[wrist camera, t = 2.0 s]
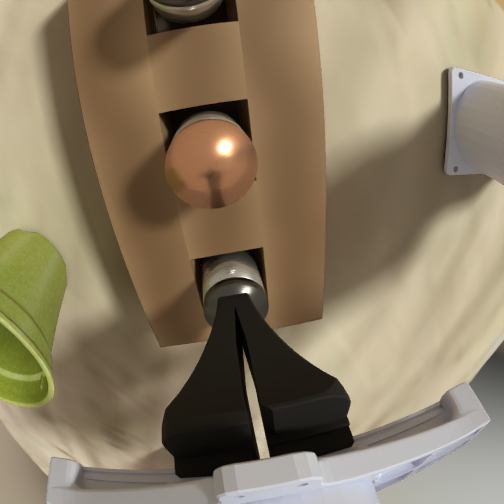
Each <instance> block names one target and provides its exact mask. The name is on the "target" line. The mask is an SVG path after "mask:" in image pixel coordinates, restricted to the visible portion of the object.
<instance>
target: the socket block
mask: <svg viewBox="0 0 504 504" xmlns="http://www.w3.org/2000/svg"><path fill="white" fill-rule="evenodd" d="M225 2H226V11H227V19H228V22H224V23H216V24H208V25H201V26H194V27H188V28H182V29H177V30H171V31H166V32H162V33H158V30H157V22H156V13H155V8H154V7H153V5H152V4H151V2H150V1H149V0H68V14H69V26H70V37H71V46H72V54H73V61H74V68H75V75H76V81H77V87H78V93H79V99H80V104H81V109H82V114H83V119H84V124H85V128H86V133H87V137H88V141H89V146H90V150H91V154H92V158H93V162H94V166H95V169H96V173H97V177H98V180H99V184H100V187H101V191H102V194H103V198H104V201H105V204H106V208H107V211H108V214H109V217H110V220H111V223H112V226H113V229H114V232H115V235H116V238H117V241H118V244H119V247H120V250H121V252H122V255H123V258H124V261H125V263H126V266H127V269H128V271H129V274H130V277H131V279H132V282H133V284H134V287H135V289H136V292H137V294H138V297H139V299H140V302H141V304H142V306H143V309H144V311H145V314H146V316H147V318H148V320H149V323H150V325H151V327H152V329H153V332H154V334H155V336H156V338H157V341H158V343H159V345H160V347H166V346H174V345H181V344H188V343H195V342H202V341H208V338H209V336H210V333H211V330H212V327H211V326H210V325H209V324H208V323H207V321H206V319H205V317H204V307H203V287H202V270H201V266H200V261H199V258H203V257H209V256H214V255H220V254H226V253H232V252H238V251H243V250H249V249H255V254H256V264H257V267H258V270H259V273H260V277H261V280H262V283H263V287H264V290H265V293H266V297H267V300H268V304H269V310H268V314H267V316H266V318H265V319H264V320H265V321H266V322H267V324H268V325H269V326H270V327H271V328H272V329H276V328H281V327H286V326H291V325H295V324H300V323H305V322H309V321H314V320H318V319H322V311H323V294H324V274H325V244H326V153H325V124H324V104H323V88H322V74H321V62H320V51H319V40H318V31H317V22H316V14H315V6H314V0H225ZM234 100H237V101H238V110H239V118H240V126H241V129H242V130H243V131H244V132H245V134H246V135H247V136H248V137H249V139H250V140H251V142H252V143H253V145H254V147H255V150H256V153H257V158H258V169H257V174H256V177H255V180H254V182H253V184H252V186H251V188H250V189H249V190H248V192H247V193H246V194H245V195H244V196H243V197H242V198H240V199H239V200H238V201H236V202H235V203H233V204H231V205H228V206H226V207H222V208H217V209H203V208H198V207H194V206H192V205H189V204H188V203H186V202H184V201H183V200H181V199H180V198H179V197H178V196H177V195H176V194H175V193H174V192H173V190H172V189H171V187H170V186H169V183H168V181H167V178H166V174H165V158H166V154H167V151H168V149H169V146H170V144H171V142H172V140H173V138H174V136H173V130H172V124H171V118H170V113H169V111H173V110H178V109H183V108H189V107H194V106H200V105H206V104H213V103H219V102H226V101H234Z"/></svg>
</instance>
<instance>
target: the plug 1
mask: <svg viewBox="0 0 504 504" xmlns="http://www.w3.org/2000/svg"><path fill="white" fill-rule="evenodd" d="M149 1H150V2H151V4H152V5H153V7H154V8H155V10H156V11H157V12H158V14H160V15H161V16H162V17H163V18H165V19H167V20H169V21H172V22H175V23H194V22H198V21H201V20H203V19H206V18H207V17H209V16H211V15H212V14H213V13H215V12H216V11H217V10H218V8H219V7H220V6H221V4H222V2H223V0H149Z"/></svg>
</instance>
